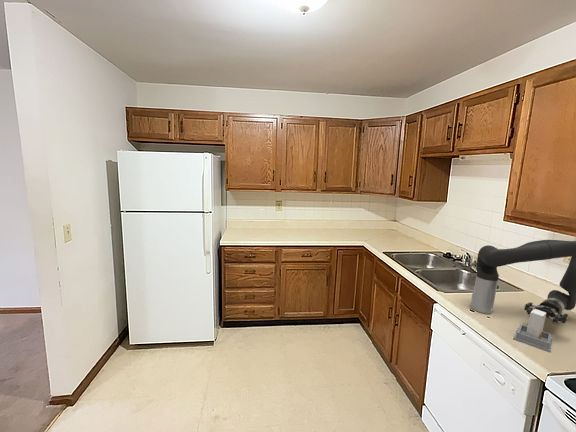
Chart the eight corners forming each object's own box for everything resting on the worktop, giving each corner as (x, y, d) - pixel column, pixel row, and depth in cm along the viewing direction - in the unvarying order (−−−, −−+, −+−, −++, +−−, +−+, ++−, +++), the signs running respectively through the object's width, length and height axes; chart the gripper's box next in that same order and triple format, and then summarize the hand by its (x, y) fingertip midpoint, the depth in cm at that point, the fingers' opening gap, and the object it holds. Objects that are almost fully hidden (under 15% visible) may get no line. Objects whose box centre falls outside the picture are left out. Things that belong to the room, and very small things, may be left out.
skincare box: (537, 343, 124) (543, 316, 122) (524, 338, 128) (530, 311, 126) (541, 338, 128) (546, 312, 126) (528, 333, 131) (534, 308, 129)
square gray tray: (513, 339, 128) (514, 332, 127) (517, 329, 136) (518, 322, 136) (550, 352, 120) (552, 344, 119) (552, 340, 128) (553, 333, 128)
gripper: (534, 294, 144) (522, 301, 134) (574, 306, 133) (564, 315, 123) (531, 308, 145) (519, 317, 136) (570, 322, 134) (560, 332, 124)
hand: (540, 316), depth 129 cm, fingers open, 8 cm apart
